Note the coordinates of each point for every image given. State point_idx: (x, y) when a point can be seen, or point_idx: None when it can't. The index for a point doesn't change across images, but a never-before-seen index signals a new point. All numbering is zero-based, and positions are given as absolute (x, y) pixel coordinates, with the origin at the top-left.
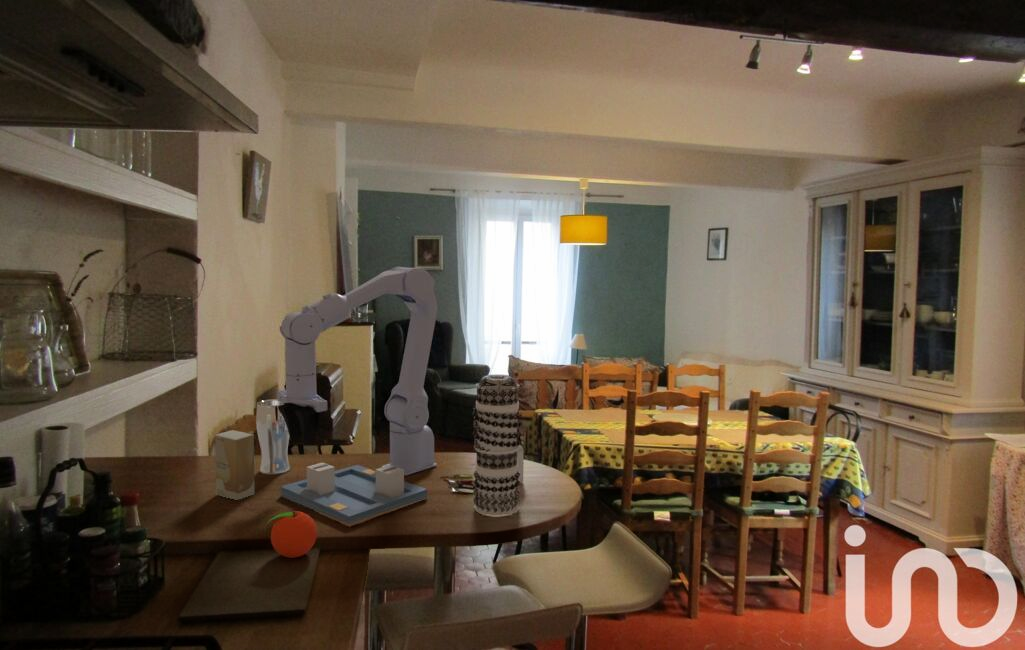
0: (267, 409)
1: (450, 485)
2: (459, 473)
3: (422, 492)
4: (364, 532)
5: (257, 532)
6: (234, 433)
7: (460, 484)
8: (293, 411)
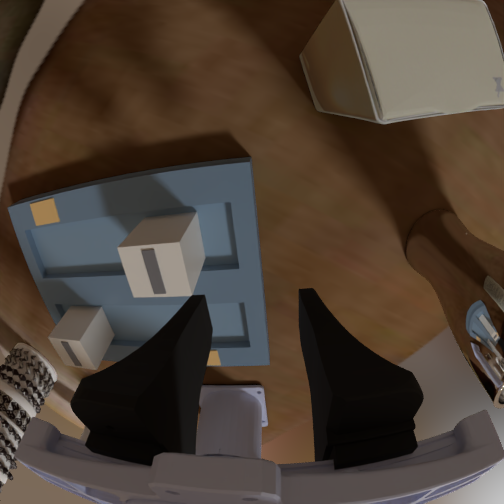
0: None
1: None
2: None
3: None
4: (4, 210)
5: (79, 44)
6: (458, 59)
7: None
8: (320, 412)
